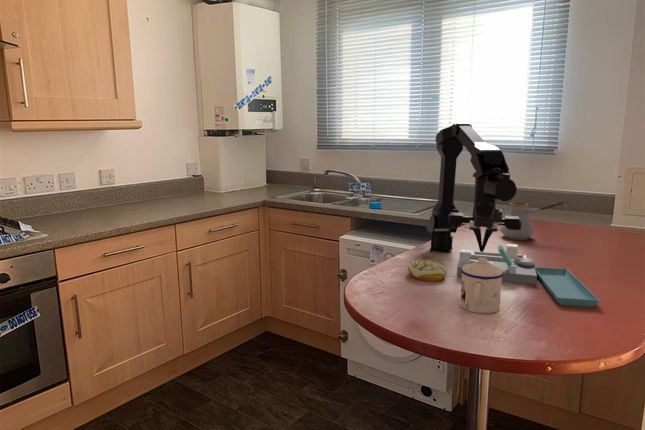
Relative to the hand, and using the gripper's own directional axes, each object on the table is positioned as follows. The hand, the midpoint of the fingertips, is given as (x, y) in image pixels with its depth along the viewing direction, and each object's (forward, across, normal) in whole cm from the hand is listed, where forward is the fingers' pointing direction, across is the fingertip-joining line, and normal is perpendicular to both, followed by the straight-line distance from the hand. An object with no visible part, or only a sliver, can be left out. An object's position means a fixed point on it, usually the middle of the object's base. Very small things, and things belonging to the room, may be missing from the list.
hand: (481, 251), depth 131 cm
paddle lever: (+3, +8, 0) cm, 9 cm away
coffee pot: (+7, +17, +51) cm, 54 cm away
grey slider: (+4, -4, 0) cm, 6 cm away
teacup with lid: (+7, 0, -26) cm, 27 cm away
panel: (+7, +4, +5) cm, 10 cm away
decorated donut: (+7, -14, -5) cm, 17 cm away
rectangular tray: (+8, +20, -4) cm, 22 cm away
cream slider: (+4, +8, +11) cm, 14 cm away
